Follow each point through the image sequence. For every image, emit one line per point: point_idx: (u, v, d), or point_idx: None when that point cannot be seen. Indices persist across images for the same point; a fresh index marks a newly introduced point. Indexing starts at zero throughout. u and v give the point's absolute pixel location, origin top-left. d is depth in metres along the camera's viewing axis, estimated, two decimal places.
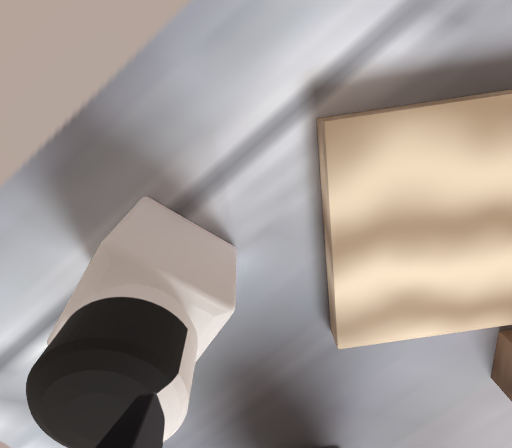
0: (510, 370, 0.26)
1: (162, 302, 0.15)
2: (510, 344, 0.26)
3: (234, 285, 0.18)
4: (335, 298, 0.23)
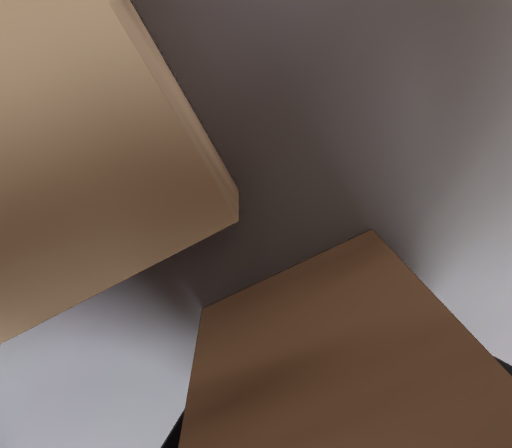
0: None
1: None
2: None
3: None
4: None
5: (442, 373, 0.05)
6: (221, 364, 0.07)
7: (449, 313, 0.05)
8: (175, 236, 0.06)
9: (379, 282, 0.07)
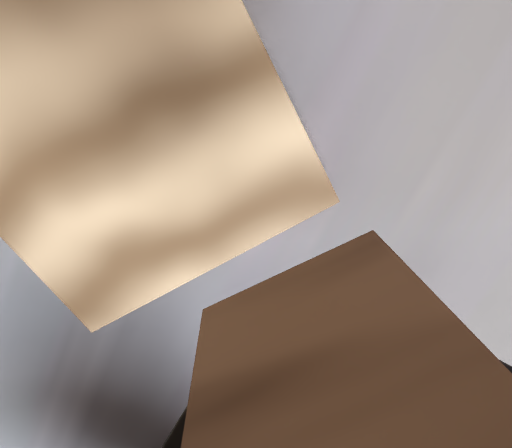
0: None
1: None
2: None
3: None
4: (39, 275, 0.18)
5: (445, 374, 0.05)
6: (223, 364, 0.07)
7: (451, 314, 0.05)
8: (317, 207, 0.17)
9: (381, 283, 0.07)
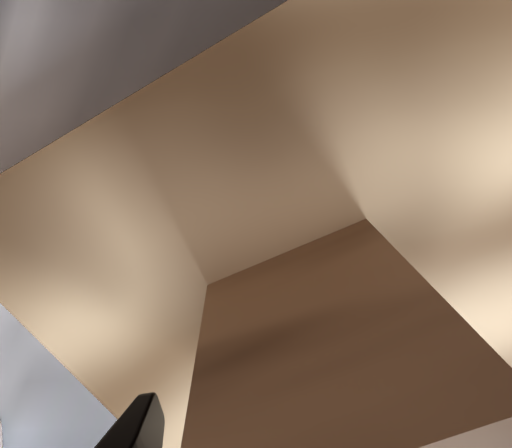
0: None
1: None
2: None
3: None
4: None
5: (420, 330, 0.05)
6: (226, 328, 0.08)
7: (429, 285, 0.06)
8: None
9: (370, 261, 0.08)
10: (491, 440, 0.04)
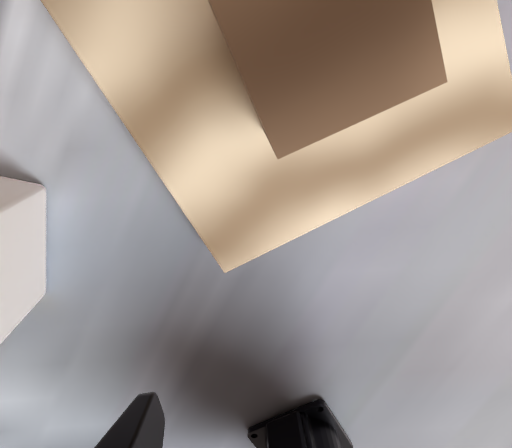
0: None
1: None
2: None
3: None
4: (180, 205, 0.16)
5: None
6: None
7: None
8: (495, 133, 0.16)
9: None
10: None
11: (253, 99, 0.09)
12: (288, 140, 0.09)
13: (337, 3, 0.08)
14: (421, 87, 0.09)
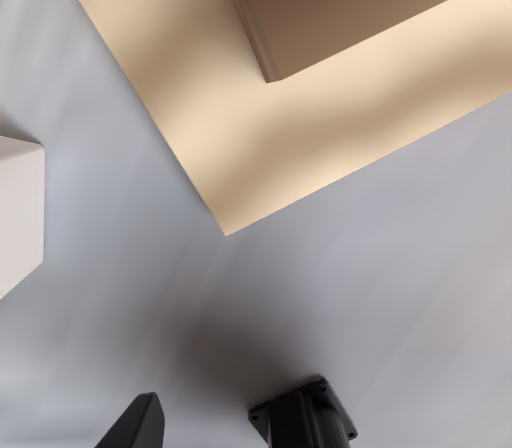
0: (242, 13, 0.12)
1: None
2: None
3: None
4: (181, 163, 0.16)
5: None
6: None
7: None
8: (501, 89, 0.16)
9: None
10: None
11: (257, 12, 0.09)
12: (293, 58, 0.09)
13: None
14: (430, 1, 0.09)
